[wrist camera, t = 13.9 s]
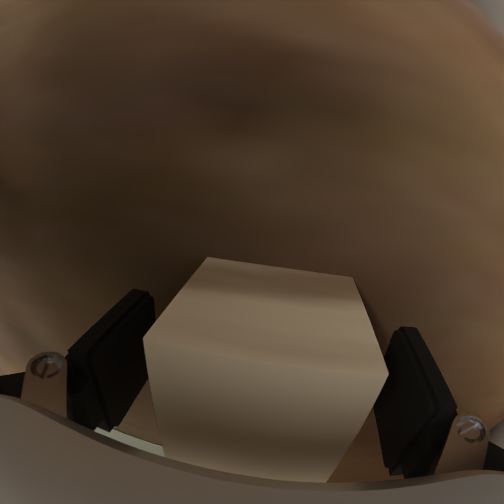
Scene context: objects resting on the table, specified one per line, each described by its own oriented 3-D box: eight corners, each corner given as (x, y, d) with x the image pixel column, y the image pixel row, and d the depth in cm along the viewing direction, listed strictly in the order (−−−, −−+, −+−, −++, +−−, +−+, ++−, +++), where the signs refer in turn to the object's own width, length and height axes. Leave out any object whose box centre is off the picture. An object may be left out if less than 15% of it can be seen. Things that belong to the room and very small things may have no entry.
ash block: (207, 256, 10) (143, 337, 6) (352, 276, 10) (388, 373, 5) (205, 365, 12) (165, 458, 7) (321, 382, 11) (325, 483, 7)
